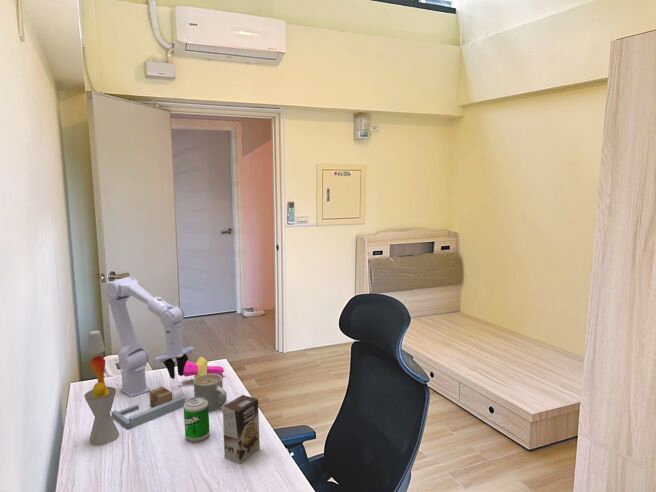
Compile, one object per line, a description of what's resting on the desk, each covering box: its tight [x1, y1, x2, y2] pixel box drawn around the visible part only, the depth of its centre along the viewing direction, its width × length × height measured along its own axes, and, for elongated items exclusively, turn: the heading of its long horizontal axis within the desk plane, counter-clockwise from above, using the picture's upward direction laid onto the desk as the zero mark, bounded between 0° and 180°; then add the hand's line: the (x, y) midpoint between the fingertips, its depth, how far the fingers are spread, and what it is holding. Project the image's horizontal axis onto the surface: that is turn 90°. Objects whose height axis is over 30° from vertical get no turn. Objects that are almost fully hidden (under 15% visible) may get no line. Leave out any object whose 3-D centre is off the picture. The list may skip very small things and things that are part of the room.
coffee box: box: [222, 394, 261, 464], centre depth 140 cm, size 9×6×16 cm
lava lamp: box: [83, 330, 120, 446], centre depth 148 cm, size 9×9×35 cm
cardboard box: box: [148, 386, 174, 408], centre depth 170 cm, size 7×5×7 cm
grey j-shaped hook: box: [110, 396, 186, 430], centre depth 167 cm, size 12×21×3 cm, turn 137°
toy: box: [183, 356, 225, 379], centre depth 192 cm, size 10×18×10 cm, turn 122°
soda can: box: [182, 397, 211, 443], centre depth 150 cm, size 8×8×12 cm
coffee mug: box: [193, 374, 227, 413], centre depth 169 cm, size 13×10×10 cm
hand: (176, 376), depth 173 cm, fingers open, 3 cm apart
